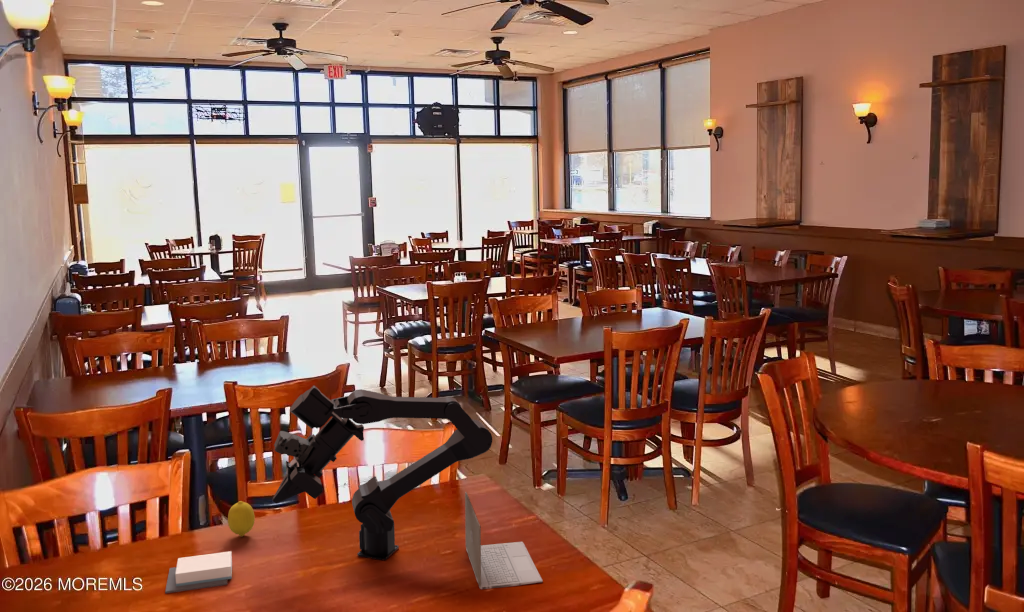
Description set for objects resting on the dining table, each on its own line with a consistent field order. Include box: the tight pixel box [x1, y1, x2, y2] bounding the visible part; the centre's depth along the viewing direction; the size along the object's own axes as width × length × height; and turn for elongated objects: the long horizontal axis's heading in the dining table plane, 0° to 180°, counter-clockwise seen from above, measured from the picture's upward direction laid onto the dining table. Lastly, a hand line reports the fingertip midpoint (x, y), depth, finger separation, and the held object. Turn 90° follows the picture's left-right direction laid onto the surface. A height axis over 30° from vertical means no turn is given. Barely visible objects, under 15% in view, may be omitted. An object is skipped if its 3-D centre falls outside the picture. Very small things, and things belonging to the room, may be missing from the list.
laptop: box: [464, 491, 543, 590], centre depth 165 cm, size 18×12×13 cm
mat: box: [164, 566, 228, 594], centre depth 161 cm, size 11×10×1 cm
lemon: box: [227, 500, 256, 537], centre depth 179 cm, size 6×6×8 cm
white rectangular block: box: [175, 550, 233, 586], centre depth 161 cm, size 2×7×10 cm
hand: (274, 501), depth 163 cm, fingers closed
